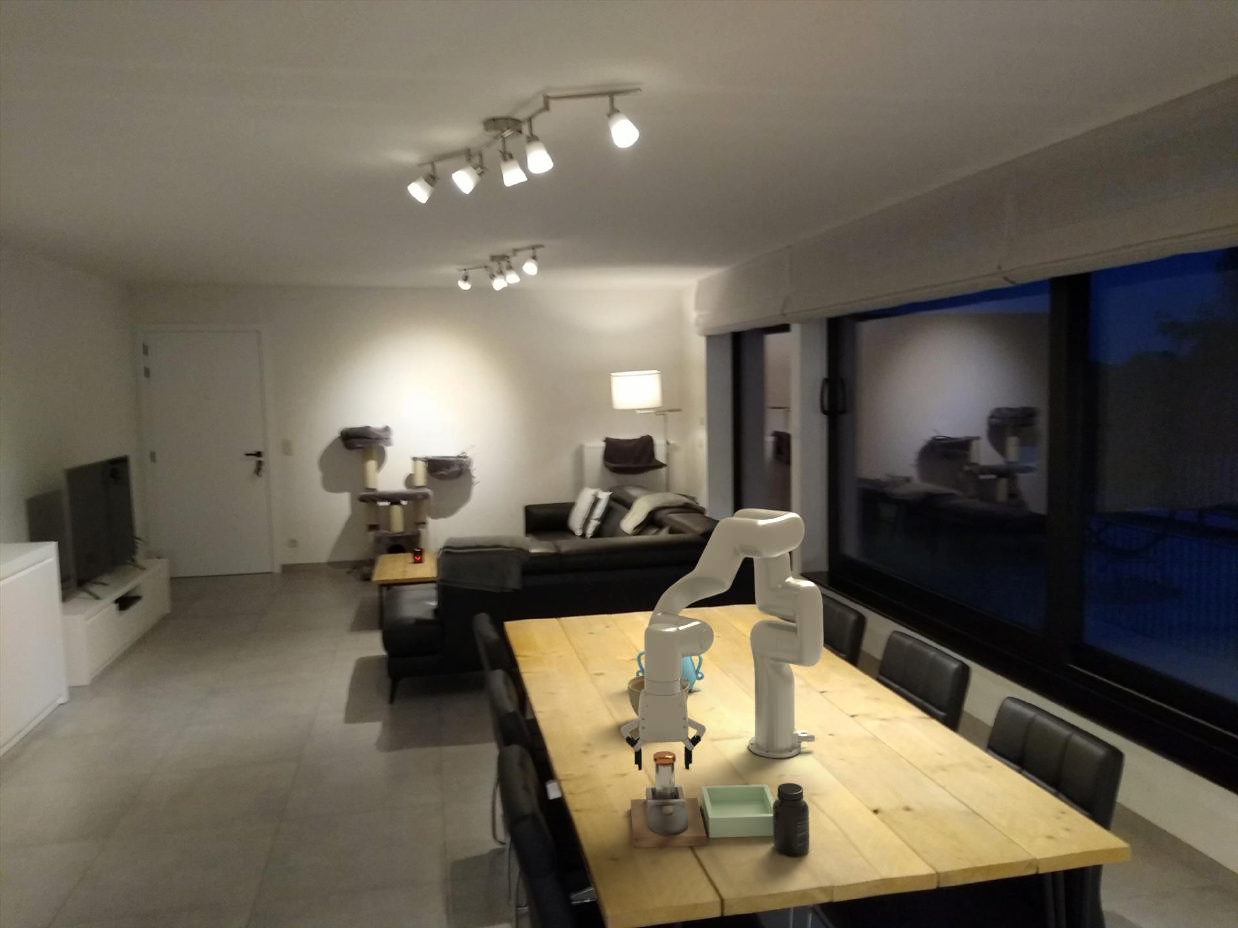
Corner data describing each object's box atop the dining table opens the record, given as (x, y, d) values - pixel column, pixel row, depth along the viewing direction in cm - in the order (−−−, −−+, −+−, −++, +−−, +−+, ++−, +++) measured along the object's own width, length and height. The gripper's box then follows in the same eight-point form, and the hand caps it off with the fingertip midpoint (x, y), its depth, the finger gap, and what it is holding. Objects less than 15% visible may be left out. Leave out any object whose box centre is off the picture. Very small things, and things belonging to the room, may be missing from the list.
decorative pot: (676, 675, 274) (675, 632, 272) (709, 690, 260) (708, 644, 259) (632, 686, 265) (631, 641, 264) (663, 701, 251) (662, 654, 250)
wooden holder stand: (697, 806, 189) (696, 781, 188) (706, 845, 173) (705, 818, 172) (630, 808, 188) (630, 783, 188) (633, 847, 173) (633, 820, 172)
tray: (767, 802, 190) (767, 784, 190) (780, 835, 176) (780, 815, 176) (701, 804, 190) (701, 785, 189) (709, 837, 176) (709, 817, 175)
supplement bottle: (804, 838, 175) (804, 779, 174) (813, 857, 168) (813, 795, 167) (769, 840, 174) (769, 780, 173) (776, 858, 168) (776, 796, 167)
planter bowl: (685, 737, 226) (685, 695, 225) (622, 733, 229) (622, 691, 228) (693, 713, 242) (692, 674, 241) (634, 710, 245) (633, 671, 244)
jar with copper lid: (675, 801, 187) (674, 750, 186) (677, 812, 182) (676, 759, 181) (653, 802, 187) (652, 751, 186) (654, 812, 182) (653, 760, 181)
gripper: (703, 679, 186) (703, 759, 187) (620, 680, 186) (620, 760, 187) (707, 690, 178) (707, 774, 180) (620, 692, 178) (621, 775, 179)
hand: (663, 767), depth 183 cm, fingers open, 9 cm apart
